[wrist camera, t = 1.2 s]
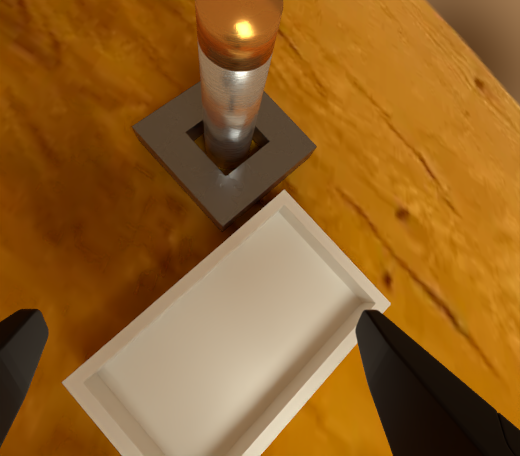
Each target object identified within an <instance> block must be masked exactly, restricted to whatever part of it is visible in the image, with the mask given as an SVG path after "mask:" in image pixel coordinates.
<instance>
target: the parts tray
mask: <svg viewBox="0 0 520 456" xmlns="http://www.w3.org/2000/svg"><path fill="white" fill-rule="evenodd" d="M390 304H391V303H390V302H389V301H388V300H387V299H386V298H385V297H384V296H383V295H382V293H381V292H380V291H379V290H378V289H377V288H376V287H375V286H374V285H373V284H372V283H371V282H370V281H369V280H368V278H367V277H366V276H365V275H364V274H363V273H362V272H361V271H360V270H359V269H358V268H357V267H356V266H355V265H354V263H353V262H352V261H351V260H350V259H349V258H348V257H347V256H346V255H345V254H344V253H343V252H342V251H341V250H340V248H339V247H338V246H337V245H336V244H335V243H334V242H333V241H332V240H331V239H330V238H329V237H328V236H327V235H326V233H325V232H324V231H323V230H322V229H321V228H320V227H319V226H318V225H317V224H316V223H315V222H314V221H313V220H312V218H311V217H310V216H309V215H308V214H307V213H306V212H305V211H304V210H303V209H302V208H301V207H300V206H299V205H298V203H297V202H296V201H295V200H294V199H293V198H292V197H291V196H290V195H289V194H288V193H287V192H286V191H285V190H283V191H282V192H281V193H280V194H278V195H277V196H276V197H275V198H274V199H273V200H272V201H270V202H269V203H268V204H267V205H266V206H265V207H263V208H262V209H261V210H260V211H259V212H258V213H257V214H255V215H254V216H253V217H252V218H251V219H250V220H248V221H247V222H246V223H245V224H244V225H243V226H242V227H240V228H239V229H238V230H237V231H236V232H235V233H233V234H232V235H231V236H230V237H229V238H228V239H227V240H225V241H224V242H223V243H222V244H221V245H220V246H219V247H217V248H216V249H215V250H214V251H213V252H212V253H210V254H209V255H208V256H207V257H206V258H205V259H204V260H202V261H201V262H200V263H199V264H198V265H197V266H195V267H194V268H193V269H192V270H191V271H190V272H189V273H187V274H186V275H185V276H184V277H183V278H182V279H180V280H179V281H178V282H177V283H176V284H175V285H174V286H172V287H171V288H170V289H169V290H168V291H167V292H165V293H164V294H163V295H162V296H161V297H160V298H159V299H157V300H156V301H155V302H154V303H153V304H152V305H150V306H149V307H148V308H147V309H146V310H145V311H144V312H142V313H141V314H140V315H139V316H138V317H137V318H135V319H134V320H133V321H132V322H131V323H130V324H129V325H127V326H126V327H125V328H124V329H123V330H122V331H120V332H119V333H118V334H117V335H116V336H115V337H114V338H112V339H111V340H110V341H109V342H108V343H107V344H105V345H104V346H103V347H102V348H101V349H100V350H99V351H97V352H96V353H95V354H94V355H93V356H92V357H90V358H89V359H88V360H87V361H86V362H85V363H84V364H82V365H81V366H80V367H79V368H78V369H77V370H75V371H74V372H73V373H72V374H71V375H70V376H69V377H67V378H66V379H65V380H64V381H63V382H62V384H63V385H64V386H65V387H66V388H67V390H68V391H69V392H70V393H71V395H72V396H73V397H74V398H75V399H76V401H77V402H78V403H79V404H80V405H81V407H82V408H83V409H84V410H85V411H86V413H87V414H88V415H89V416H90V418H91V419H92V420H93V421H94V422H95V424H96V425H97V426H98V427H99V428H100V430H101V431H102V432H103V433H104V435H105V436H106V437H107V438H108V439H109V441H110V442H111V443H112V444H113V445H114V447H115V448H116V449H117V450H118V451H119V453H120V454H121V455H122V456H260V455H261V454H262V453H263V452H264V450H265V449H266V448H267V447H268V446H269V445H270V443H271V442H272V441H273V440H274V439H275V438H276V437H277V435H278V434H279V433H280V432H281V431H282V430H283V428H284V427H285V426H286V425H287V424H288V423H289V421H290V420H291V419H292V418H293V417H294V416H295V414H296V413H297V412H298V411H299V410H300V409H301V408H302V406H303V405H304V404H305V403H306V402H307V401H308V399H309V398H310V397H311V396H312V395H313V394H314V392H315V391H316V390H317V389H318V388H319V387H320V385H321V384H322V383H323V382H324V381H325V380H326V379H327V377H328V376H329V375H330V374H331V373H332V372H333V370H334V369H335V368H336V367H337V366H338V365H339V363H340V362H341V361H342V360H343V359H344V358H345V356H346V355H347V354H348V353H349V352H350V351H351V350H352V348H353V347H354V346H355V345H356V344H357V343H358V342H357V338H356V333H355V329H356V325H357V323H358V320H359V318H360V316H361V314H362V312H363V311H364V310H366V309H374V310H378V311H380V312H381V313H382V314H383V312H384V311H385V310H386V309H387V308H388V307H389V305H390Z"/></svg>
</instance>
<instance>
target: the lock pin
mask: <svg viewBox="0 0 520 456" xmlns="http://www.w3.org/2000/svg"><path fill="white" fill-rule="evenodd" d="M195 9H196V23H197V37H198V51H199V65H200V79H201V93H202V108H203V122H204V136H205V150H206V155H207V157H208V158H209V159H210V160H211V161H212V162H213V163H214V164H215V165H216V166H217V167H219V168H221V169H228V170H229V169H235V168H237V167H239V166H240V165H241V164H242V163H244V162H245V161H246V159H247V157H248V154H249V150H250V146H251V141H252V137H253V133H254V129H255V125H256V120H257V116H258V112H259V108H260V104H261V99H262V95H263V91H264V87H265V82H266V78H267V74H268V70H269V66H270V61H271V57H272V53H273V49H274V45H275V40H276V36H277V32H278V28H279V24H280V19H281V15H282V11H283V0H195Z"/></svg>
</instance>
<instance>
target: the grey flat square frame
mask: <svg viewBox="0 0 520 456" xmlns="http://www.w3.org/2000/svg"><path fill="white" fill-rule="evenodd" d="M132 128H133V130H134V132H135V134H136V136H137V138H138V140H139V141H140V142H141V143H142V144H143V145H144V146H145V148H146V149H147V150H148V151H149V152H150V153H151V154H152V155H153V156H154V158H155V159H156V160H157V161H158V162H159V163H160V164H161V165H162V166H163V167H164V169H165V170H166V171H167V172H168V173H169V174H170V175H171V176H172V177H173V179H174V180H175V181H176V182H177V183H178V184H179V185H180V186H181V187H182V188H183V190H184V191H185V192H186V193H187V194H188V195H189V196H190V197H191V198H192V200H193V201H194V202H195V203H196V204H197V205H198V206H199V207H200V208H201V209H202V211H203V212H204V213H205V214H206V215H207V216H208V217H209V218H210V219H211V221H212V222H213V223H214V224H215V225H216V226H217V227H218V228H219V229H220V230H221V232H223V231H224V230H225V229H226V228H227V227H229V226H230V225H231V224H232V223H233V222H234V221H236V220H237V219H238V218H239V217H240V216H241V215H243V214H244V213H245V212H246V211H247V210H248V209H250V208H251V207H252V206H253V205H254V204H256V203H257V202H258V201H259V200H260V199H261V198H263V197H264V196H265V195H266V194H267V193H268V192H270V191H271V190H272V189H273V188H274V187H275V186H277V185H278V184H279V183H280V182H281V181H282V180H284V179H285V178H286V177H287V176H288V175H289V174H291V173H292V172H293V171H294V170H295V169H296V168H298V167H299V166H300V165H301V164H302V163H304V162H305V161H306V160H307V159H308V158H309V157H310V156H311V154H312V153H313V151H314V150H315V149H316V147H317V146H316V145H315V144H314V143H313V142H312V141H311V140H310V139H309V138H308V137H307V136H306V135H305V134H304V133H303V131H302V130H301V129H300V128H299V127H298V126H297V125H296V124H295V123H294V122H293V121H292V120H291V119H290V118H289V117H288V116H287V115H286V114H285V113H284V112H283V111H282V109H281V108H280V107H279V106H278V105H277V104H276V103H275V102H274V101H273V100H272V99H271V98H270V97H269V96H268V95H267V94H266V93H265V92H264V91H263V95H262V99H261V104H260V108H259V112H258V116H257V120H256V125H255V129H254V133H253V137H252V139H253V140H254V141H255V142H256V143H257V144H258V145H259V147H260V148H261V149H260V150H259V151H257V152H256V153H255V154H254V155H252V156H251V157H250V158H249V159H247V160H246V161H245V162H244V163H242V164H241V165H240V166H239V167H237V168H236V169H235V170H233V171H232V172H231V173H230V174H228V175H227V176H225V175H224V174H223V173H222V172H221V171H220V170H219V169H218V168H217V166H216V165H215V164H214V163H213V162H212V161H211V160H210V159H209V158H208V157H207V156H206V155H205V153H204V152H203V151H202V150H201V149H200V148H199V147H198V146H197V145H196V144H195V143H194V140H195V139H197V138H198V137H200V136H201V135H202V134H204V122H203V108H202V93H201V81H200V82H198V83H197V84H195V85H194V86H192V87H191V88H189V89H188V90H186V91H185V92H183V93H182V94H180V95H179V96H177V97H176V98H174V99H173V100H171V101H170V102H168V103H167V104H165V105H164V106H162V107H161V108H159V109H158V110H156V111H155V112H153V113H152V114H150V115H149V116H147V117H146V118H144V119H143V120H141V121H140V122H138V123H137V124H135V125H134V126H132Z"/></svg>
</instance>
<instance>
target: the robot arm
mask: <svg viewBox="0 0 520 456" xmlns="http://www.w3.org/2000/svg"><path fill="white" fill-rule="evenodd" d="M355 333H356V338H357V342H358V346H359V350H360V354H361V358H362V363H363V367H364V371H365V375H366V379H367V382H368V386H369V389H370V392H371V395H372V397H373V400H374V403H375V406H376V409H377V411H378V414H379V417H380V420H381V423H382V426H383V428H384V431H385V434H386V437H387V440H388V443H389V445H390V448H391V451H392V454H393V456H520V430H519V429H518V428H517V427H516V426H514V425H513V424H512V423H511V422H510V421H508V420H507V419H506V418H505V417H504V416H503V415H501V414H500V413H497V411H496V410H495V409H494V408H493V407H492V406H491V405H489V404H488V403H487V402H486V401H485V400H484V399H482V398H481V397H480V396H479V395H478V394H477V393H475V392H474V391H473V390H472V389H471V388H469V387H468V386H467V385H466V384H465V383H464V382H462V381H461V380H460V379H459V378H458V377H456V376H455V375H454V374H453V373H452V372H451V371H449V370H448V369H447V368H446V367H445V366H443V365H442V364H441V363H440V362H439V361H438V360H436V359H435V358H434V357H433V356H432V355H431V354H429V353H428V352H427V351H426V350H425V349H423V348H422V347H421V346H420V345H419V344H418V343H416V342H415V341H414V340H413V339H412V338H410V337H409V336H408V335H407V334H406V333H405V332H403V331H402V330H401V329H400V328H399V327H397V326H396V325H395V324H394V323H393V322H392V321H390V320H389V319H388V318H387V317H386V316H385V315H383V314H382V313H381V312H380V311H378V310H374V309H366V310H364V311H363V312H362V314H361V316H360V318H359V320H358V323H357V325H356V329H355ZM47 338H48V327H47V325H46V322H45V320H44V318H43V315H42V313H41V311H40V310H38V309H20V310H18V311H16V312H15V313H13V314H12V315H10V316H9V317H7V318H6V319H4V320H3V321H1V322H0V447H1V445H2V443H3V441H4V439H5V437H6V435H7V433H8V431H9V429H10V427H11V425H12V423H13V421H14V419H15V417H16V415H17V413H18V411H19V409H20V407H21V405H22V403H23V400H24V398H25V396H26V394H27V391H28V389H29V386H30V384H31V381H32V378H33V376H34V373H35V370H36V368H37V365H38V362H39V360H40V357H41V354H42V352H43V349H44V346H45V344H46V341H47Z"/></svg>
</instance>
